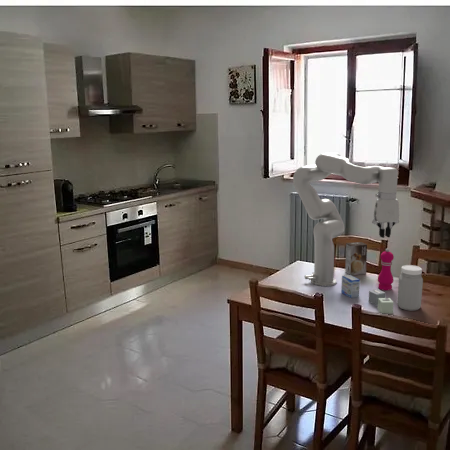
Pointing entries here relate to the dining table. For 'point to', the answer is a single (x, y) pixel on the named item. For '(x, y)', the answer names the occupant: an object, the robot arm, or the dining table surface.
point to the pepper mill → (386, 271)
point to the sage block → (385, 305)
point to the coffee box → (356, 258)
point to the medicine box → (350, 286)
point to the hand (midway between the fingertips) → (384, 236)
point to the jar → (410, 288)
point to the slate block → (376, 296)
